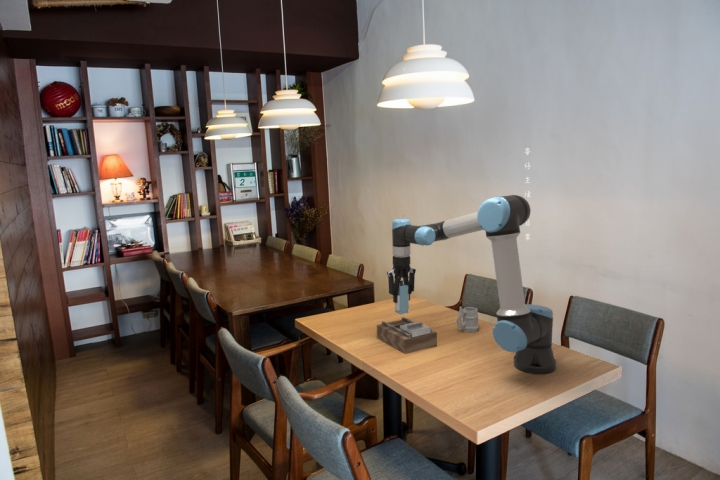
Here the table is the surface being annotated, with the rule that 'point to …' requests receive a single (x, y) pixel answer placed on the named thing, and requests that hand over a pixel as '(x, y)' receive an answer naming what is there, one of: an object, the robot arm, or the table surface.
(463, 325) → the mug
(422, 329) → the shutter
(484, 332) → the table surface
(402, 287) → the blue square bottle
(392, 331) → the socket box
